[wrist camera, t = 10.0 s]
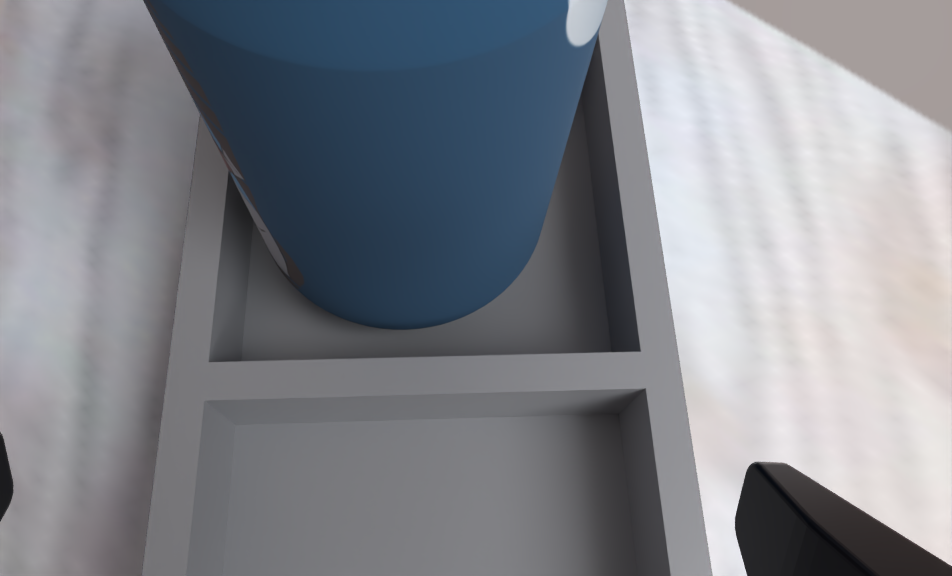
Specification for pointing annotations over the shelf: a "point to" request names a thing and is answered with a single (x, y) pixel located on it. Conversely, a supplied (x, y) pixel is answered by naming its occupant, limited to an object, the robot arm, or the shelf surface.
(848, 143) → the shelf surface
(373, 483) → the can carrier
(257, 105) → the soda can
